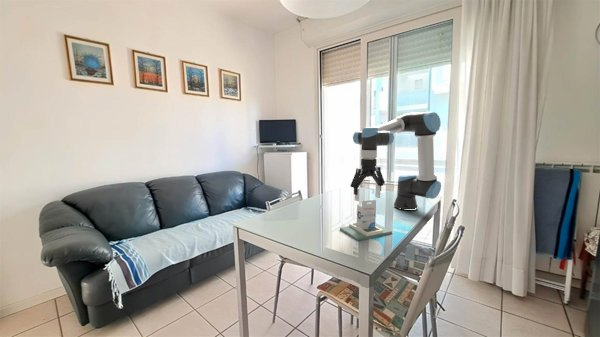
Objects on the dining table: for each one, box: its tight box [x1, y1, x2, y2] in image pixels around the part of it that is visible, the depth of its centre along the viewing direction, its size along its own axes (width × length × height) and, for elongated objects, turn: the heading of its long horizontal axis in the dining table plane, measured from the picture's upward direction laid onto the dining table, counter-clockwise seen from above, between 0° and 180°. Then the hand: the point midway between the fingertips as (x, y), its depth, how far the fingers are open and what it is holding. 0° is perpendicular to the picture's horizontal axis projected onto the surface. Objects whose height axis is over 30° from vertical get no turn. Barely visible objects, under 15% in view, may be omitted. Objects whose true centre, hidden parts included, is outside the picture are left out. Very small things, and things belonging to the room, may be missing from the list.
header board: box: [339, 221, 393, 242], centre depth 129 cm, size 22×15×3 cm
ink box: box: [356, 199, 377, 229], centre depth 128 cm, size 8×5×15 cm, turn 106°
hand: (367, 199), depth 127 cm, fingers open, 13 cm apart
